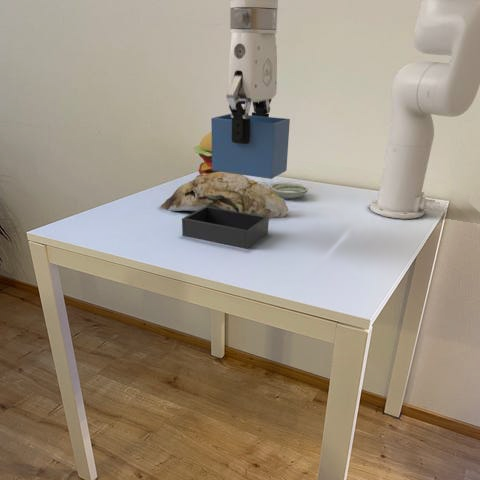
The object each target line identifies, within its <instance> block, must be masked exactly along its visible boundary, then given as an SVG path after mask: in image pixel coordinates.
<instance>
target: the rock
mask: <svg viewBox="0 0 480 480" xmlns="http://www.w3.org/2000/svg"><path fill="white" fill-rule="evenodd" d="M205 206H208V207H214V208H219V209H225V210H231V211H236V212H242V213H247V214H253V215H259V216H264V217H269V219H276V218H278V219H280V218H284V217H286V215H288V212H289V208H288V205H287V203H286V201H285V199H284V198H281V197H279V195H277V194H276V193H275V192H274V191H272V190H271V187H268V186H265V185H264V184H261V183H259V182H258V181H255V180H252V179H250V178H248V177H247V176H246V175H240V174H233V173H226V172H214V173H209V174H206V173H202V174H200V173H198V174H197V175H196V177H195V178H194V179H193V180H191V181H188V182H186V183H184V184H182V185H180V186H179V187H178V188H177V189H176V190H175V191H174V192H173V194H172V195H171V196H170V197H169V198H167V199H166V200H165V202H163V203H162V204H161V205H160V208H161V209H164V210H166V211H169V212H181V211H185V212H187V211H189V212H196V211H198V210H200V209H201V208H203V207H205Z"/></svg>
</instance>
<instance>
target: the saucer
mask: <svg viewBox="0 0 480 480" xmlns="http://www.w3.org/2000/svg"><path fill="white" fill-rule="evenodd" d="M270 189H271V190H272V191H274V192H275V193H276V194H277V195H278V196H279V197H281V198H283V199H284V200H295V199H298V198H299V197H303V196H304V195H305V194H306V193H307V192H309V187H308V186H306V185H304V184H300V183H293V182H278V183H274V184H272V185H271V186H270Z"/></svg>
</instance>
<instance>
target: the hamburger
mask: <svg viewBox="0 0 480 480" xmlns="http://www.w3.org/2000/svg"><path fill="white" fill-rule="evenodd" d="M193 149H194V152H195V154H198V156H199V157H200V158H201V159H202V161H203V162H201V163H200V164H199V169H198V174H202V173H206V174H209V173H214V172H219V171H212V130H210V132H209V133H207V134H205V135H204V136H203V137H202V138H201V140H200V141H199V145H196V146H194V148H193Z"/></svg>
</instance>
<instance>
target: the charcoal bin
mask: <svg viewBox="0 0 480 480" xmlns="http://www.w3.org/2000/svg"><path fill="white" fill-rule="evenodd" d="M269 220H270V218H269V217H264V216H259V215H253V214H247V213H242V212H236V211H231V210H225V209H219V208H214V207H208V206H205V207H203V208H201V209H200V210H198V211H193V212H191V213H190V214H188V215H186V216H184V217H182V218H181V232H182V234H181V235H182V237H186V238H192V239H197V240H201V241H204V242H205V241H206V242H210V243H216V244H220V245H224V246H230V247H235V248H239V249H243V250H249V249H251V248H252V247H253V246H255V245H256V244H258V243H259V242H260V241H262V239H263V238H265V237H266V236H267V235H269V224H270V223H269V222H270V221H269Z"/></svg>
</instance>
